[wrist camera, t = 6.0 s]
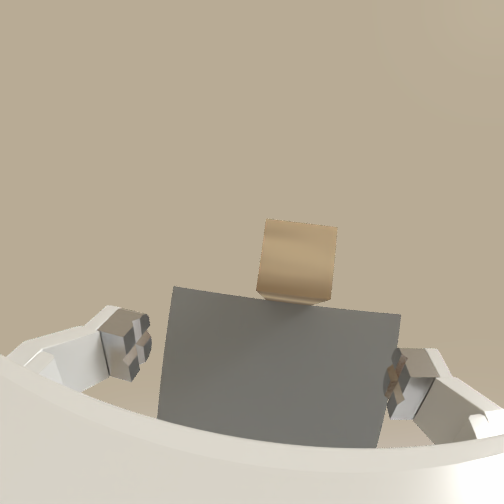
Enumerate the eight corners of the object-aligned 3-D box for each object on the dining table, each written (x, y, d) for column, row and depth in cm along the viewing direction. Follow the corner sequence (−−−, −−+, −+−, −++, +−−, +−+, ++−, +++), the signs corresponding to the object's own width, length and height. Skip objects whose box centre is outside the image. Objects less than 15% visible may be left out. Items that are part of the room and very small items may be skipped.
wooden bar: (330, 299, 12) (337, 227, 13) (256, 290, 13) (266, 218, 13) (300, 308, 32) (304, 279, 32) (271, 305, 32) (275, 276, 33)
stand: (315, 598, 14) (401, 314, 20) (153, 574, 16) (173, 286, 22) (309, 538, 26) (360, 315, 32) (184, 520, 28) (210, 296, 33)
